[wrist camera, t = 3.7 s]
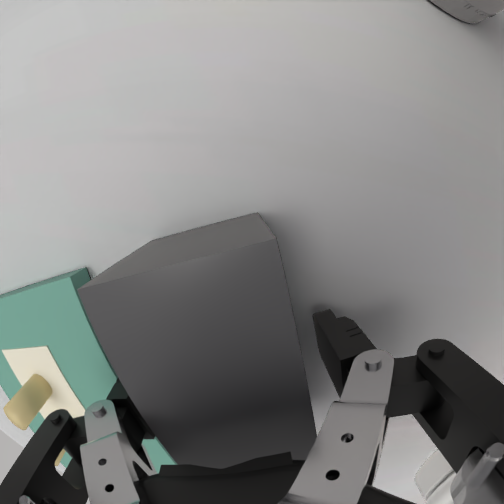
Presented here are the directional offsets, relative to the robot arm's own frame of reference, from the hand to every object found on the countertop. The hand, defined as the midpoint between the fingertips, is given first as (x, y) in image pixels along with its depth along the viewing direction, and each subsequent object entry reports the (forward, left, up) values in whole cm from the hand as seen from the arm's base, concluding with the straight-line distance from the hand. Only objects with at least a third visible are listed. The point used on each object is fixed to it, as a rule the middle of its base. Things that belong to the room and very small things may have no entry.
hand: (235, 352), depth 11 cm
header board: (+3, -12, -1) cm, 13 cm away
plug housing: (0, 0, -1) cm, 1 cm away
